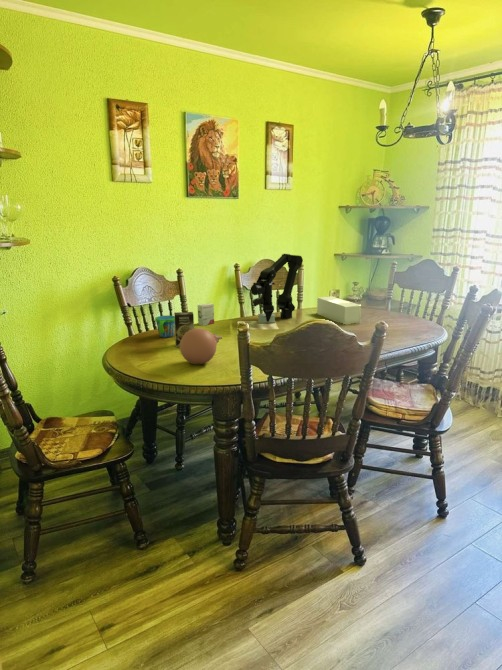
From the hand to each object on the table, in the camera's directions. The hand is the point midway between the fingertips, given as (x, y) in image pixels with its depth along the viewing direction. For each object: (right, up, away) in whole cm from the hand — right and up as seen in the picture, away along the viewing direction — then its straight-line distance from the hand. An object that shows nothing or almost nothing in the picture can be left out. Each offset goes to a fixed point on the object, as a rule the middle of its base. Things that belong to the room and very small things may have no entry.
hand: (266, 319), depth 257 cm
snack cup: (-54, -10, -22) cm, 59 cm away
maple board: (-6, -5, -5) cm, 9 cm away
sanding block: (0, -1, 0) cm, 2 cm away
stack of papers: (+44, +1, +17) cm, 47 cm away
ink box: (-35, -3, +3) cm, 35 cm away
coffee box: (-41, -14, -39) cm, 58 cm away
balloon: (-30, -21, -64) cm, 73 cm away
